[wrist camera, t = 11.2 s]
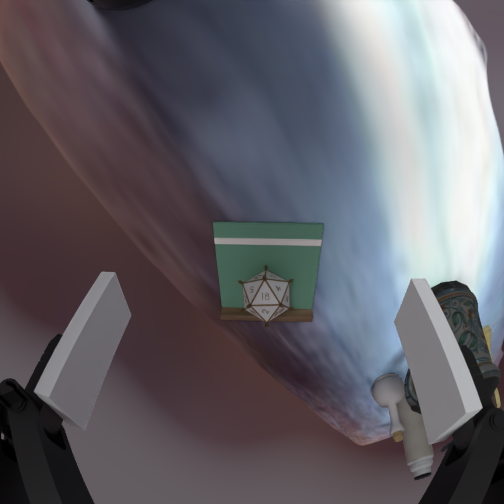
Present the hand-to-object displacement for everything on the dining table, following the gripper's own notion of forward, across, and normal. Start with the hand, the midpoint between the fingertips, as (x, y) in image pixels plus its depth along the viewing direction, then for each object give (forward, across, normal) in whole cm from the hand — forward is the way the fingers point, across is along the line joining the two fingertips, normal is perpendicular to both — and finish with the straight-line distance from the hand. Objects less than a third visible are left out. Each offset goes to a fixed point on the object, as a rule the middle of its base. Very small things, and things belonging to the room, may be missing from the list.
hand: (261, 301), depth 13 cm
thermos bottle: (+29, +44, -70) cm, 88 cm away
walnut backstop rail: (+29, 0, -30) cm, 41 cm away
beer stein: (+29, +35, -32) cm, 56 cm away
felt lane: (+29, 0, -20) cm, 35 cm away
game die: (+28, 0, -22) cm, 36 cm away
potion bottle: (+29, +32, -57) cm, 71 cm away
